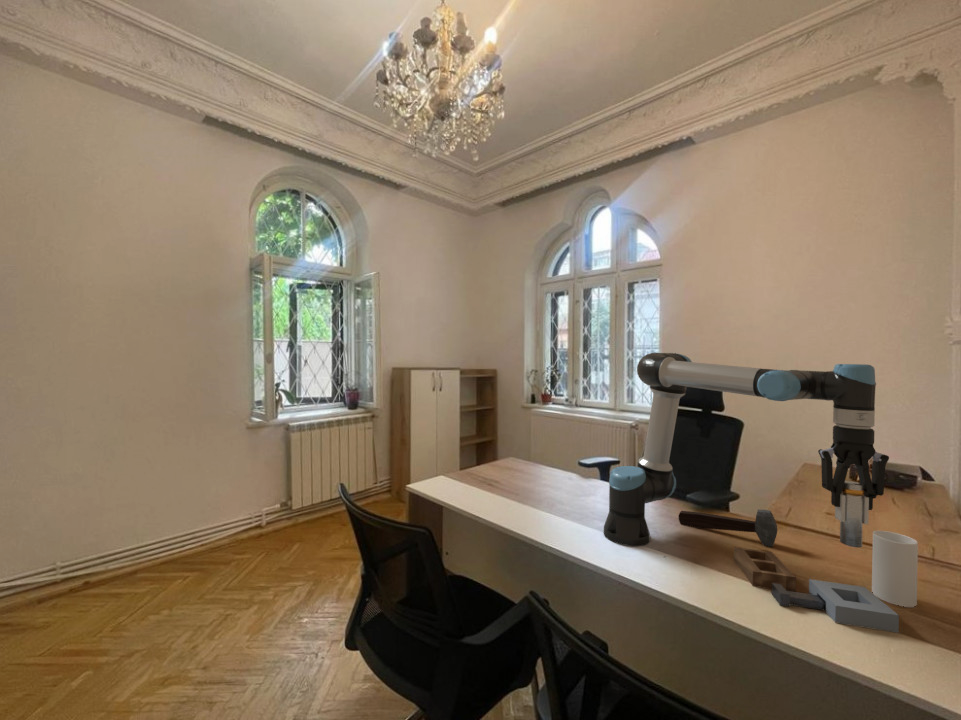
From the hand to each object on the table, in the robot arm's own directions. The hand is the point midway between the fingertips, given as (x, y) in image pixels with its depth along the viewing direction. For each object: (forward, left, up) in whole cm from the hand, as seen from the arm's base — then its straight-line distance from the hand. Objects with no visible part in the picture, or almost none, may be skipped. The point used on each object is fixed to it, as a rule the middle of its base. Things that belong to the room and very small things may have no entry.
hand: (851, 520), depth 99 cm
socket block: (0, 0, -22) cm, 22 cm away
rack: (-14, +13, -22) cm, 30 cm away
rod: (0, 0, -6) cm, 6 cm away
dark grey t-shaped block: (-11, 0, -22) cm, 25 cm away
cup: (+15, +11, -23) cm, 29 cm away
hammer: (-16, +42, -23) cm, 50 cm away
